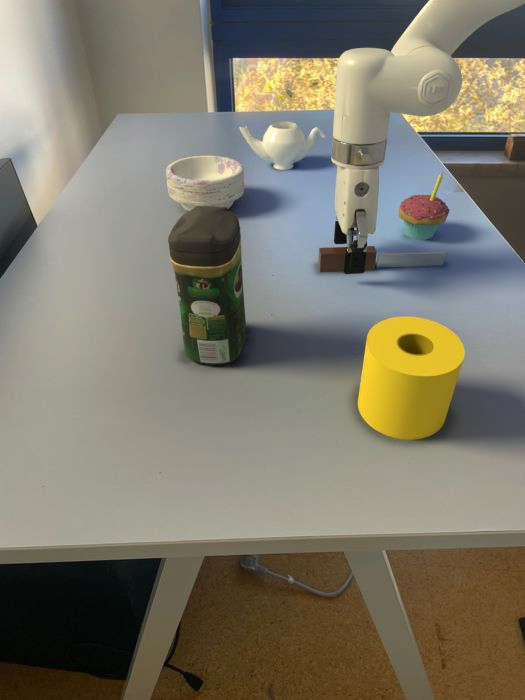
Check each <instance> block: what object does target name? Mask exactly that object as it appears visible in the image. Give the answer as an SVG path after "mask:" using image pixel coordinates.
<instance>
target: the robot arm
mask: <svg viewBox="0 0 525 700" xmlns="http://www.w3.org/2000/svg"><path fill="white" fill-rule="evenodd" d="M524 4H525V0H428V1H427V3H426V4H424V5H423V7H422V8H421V10H420V11H419V12H418V14H417V15H416V16H415V17H414V19H412V20H411V22H410V24H409V25H408V26H407V28H406V29H405V30H404V32H403V33H402V34H401V36H400V37H399V38H398V39H397V41H396V43H395V44H394V45H393V47H392V48H391V50H387V49H385V48H380V47H379V48H378V47H357V48H351V49H348V50H345V51H344V52H343V53H342V54H341V55H340V56H339V58H338V61H337V67H336V77H335V93H334V109H333V110H334V111H333V124H332V125H333V126H332V128H333V129H332V141H331V157H330V160H331V162H332V164H333V165H335V166H336V167H337V168H336V178H335V188H334V211H335V219H336V220H335V221H334V235H333V243H334V245H346V247H347V249H345V255H344V266H343V272H342V273H343V274H344V275H359V274H362V275H363V274H364V273H365V271H364V270H365V261H366V253H367V246H368V237H369V234H370V235H374V234H375V232H376V231H377V219H378V205H379V194H380V192H379V191H380V167H381V166H383V165H384V163H385V159H386V150H387V145H388V144H387V143H388V136H389V129H390V128H389V127H390V120H391V113H392V114H399V115H400V114H401V115H407V116H413V117H414V116H415V117H430V116H431V117H433V116H436V115H439V114H442V113H443V112H445V111H447V110H448V109H449V108H451V106H452V105H453V104H454V103H455V101H456V100H457V99H458V98H459V95H460V93H461V90H462V85H463V75H462V71H461V68H460V65H459V64H458V62H457V61H456V60H455V59H454V58H453V57H452V55H453V54H454V53H455V51H456V50H457V49H458V48H459V47H460V46H461V45H462V43H464V42H465V41H466V40H467V38H469V36H471V35H472V34H473V33H474V32H476V31H477V30H478V29H479V28H481V27H482V26H483V25H485V24H486V23H488V22H489V21H491V20H492V19H494V18H496V17H499V16H501V15H503V14H505V13H507V12H510V11H512V10H514V9H515V10H516V8H520V7H521V6H523V5H524ZM354 237H356V239H354Z"/></svg>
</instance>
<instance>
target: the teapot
mask: <svg viewBox="0 0 525 700" xmlns="http://www.w3.org/2000/svg"><path fill="white" fill-rule="evenodd" d="M239 131H240V133H241V134H242V136H243V138H244V140H245V142H247V144H248V146H249V147H250V148H251V150H252V151H253V152H254V153H255V155H257V156H258V157H259V158H261V159H262V160H264V161H266V162H272V163H273V168H274V169H275V170H281V171H286V170H287V171H288V170H291V169H293V168H294V164H295V163H298V162H300V161H301V160H303V159H304V158H306V157H307V156H308V155H309V153H310V152H311V151H312V149H313V148H314V145H315V143H316V139H317V134H318V135H319V136H320V137H321V138H322V139H327V138H328V136H327V135H326V134H325V133H324V132H323V130H322V129H320V127H317V126H316V127H313V128H312V130H311V131H310V133H309V135H308V136H307V137H306V138H305V135H304V133H303V131H302V130H301V127H300V126H299V125H298V124H297V123H295V122H293V121H277V122H273V123H271V124H270V125H269V126H268V127H267V129H266V131H265V133H264V134H263V136H262V140H260V139H258V138H255V137H254V136H253V135H251V132H250V131H249V127H248V126H247V125H240V126H239ZM274 163H275V164H274Z"/></svg>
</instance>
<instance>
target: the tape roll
mask: <svg viewBox="0 0 525 700" xmlns="http://www.w3.org/2000/svg"><path fill="white" fill-rule="evenodd" d="M465 356H466V351H465V346H464V344H463V342H462V340H461V339H460V337H459V336H458V335H457V334H456V333H455V332H454V331H453V330H451V329H450V328H448V327H447V326H445V325H443V324H441V323H439V322H436V321H434V320H431V319H427V318H423V317H418V316H395V317H390V318H389V317H388V318H386V319H383V320H381V321H378V322H376V324H374V325H373V326H372V327H371V328H370V329H369V331H368V333H367V335H366V341H365V350H364V355H363V363H362V368H361V369H362V370H361V371H362V372H361V376H360V384H359V390H358V398H357V407H358V408H357V409H358V412H359V414H360V415H361V417H362V419H363V420H364V421H365V422H366V424H368V425H369V426H370V427H372V429H374V430H375V431H376V432H379V433H381V434H383V435H384V436H386V437H390V438H394V439H398V440H404V441H405V440H406V441H409V440H410V441H413V440H421V439H425V438H428V437H430V436H433V435H434V434H436V433H437V432H439V431H440V429H441V428H442V427H443V426H444V424H445V422H446V419H447V415H448V412H449V409H450V405H451V401H452V398H453V396H454V392H455V388H456V385H457V382H458V379H459V375H460V372H461V369H462V366H463V365H462V364H463V361H464V359H465Z"/></svg>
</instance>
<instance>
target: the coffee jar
mask: <svg viewBox="0 0 525 700" xmlns="http://www.w3.org/2000/svg"><path fill="white" fill-rule="evenodd" d="M167 242H168V249H169V259H170V262H171V265H172V268H173V272H174V273H173V274H174V278H175V284H176V290H177V291H176V292H177V299H178V305H179V306H178V307H179V311H180V312H179V314H180V321H181V332H182V341H183V347H184V353H185V355H186V357H187V358H188V359H189V360H191V361H192V362H195V363H199V364H201V365H206V366H207V365H208V366H220V365H226V364H230V363H232V362H234V361H236V360H237V358H239V356H240V354H241V352H242V350H243V348H244V345H245V341H246V339H247V338H246V337H247V320H246V319H247V318H246V309H245V294H244V277H243V258H242V235H241V225H240V221H239V219H238V217H237V215H236V214H235V213H233V212H232V211H231V210H230V209H229V208H226V207H214V206H195V207H194V208H193V209H192V210H190V211H187V212H186V213H184V214H182V215H181V216H180V217H179V218H178V219H177V221H176V223H174V225H173V226H172V229H170V232H169V234H168V237H167Z"/></svg>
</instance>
